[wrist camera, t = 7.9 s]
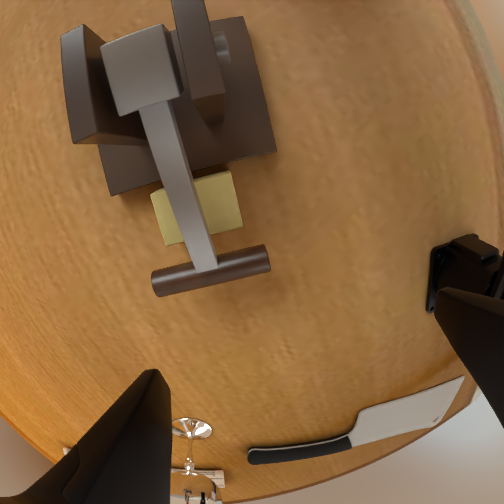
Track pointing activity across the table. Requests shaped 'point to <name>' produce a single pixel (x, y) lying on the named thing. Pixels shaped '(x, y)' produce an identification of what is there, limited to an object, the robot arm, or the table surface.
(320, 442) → the kitchen cleaver
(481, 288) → the robot arm
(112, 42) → the lever handle
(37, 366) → the table surface
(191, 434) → the wineglass
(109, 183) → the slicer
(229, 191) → the butter
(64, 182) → the table surface
